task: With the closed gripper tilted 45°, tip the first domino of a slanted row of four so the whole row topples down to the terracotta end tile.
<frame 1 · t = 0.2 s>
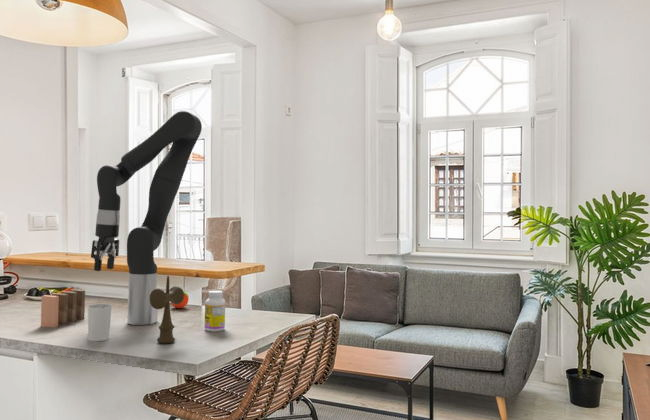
hand: (104, 269, 190), 18 cm above the worktop, tool pointing down, fingers open, 8 cm apart
kendama: (166, 343, 164), on the worktop
supplement bottle: (214, 330, 182), on the worktop
domino 1: (76, 318, 193), on the worktop
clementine: (180, 308, 217), on the worktop
domino 3: (58, 323, 184), on the worktop
drinking glass: (98, 339, 165), on the worktop
domino 2: (67, 321, 188), on the worktop
domino 4: (49, 326, 179), on the worktop
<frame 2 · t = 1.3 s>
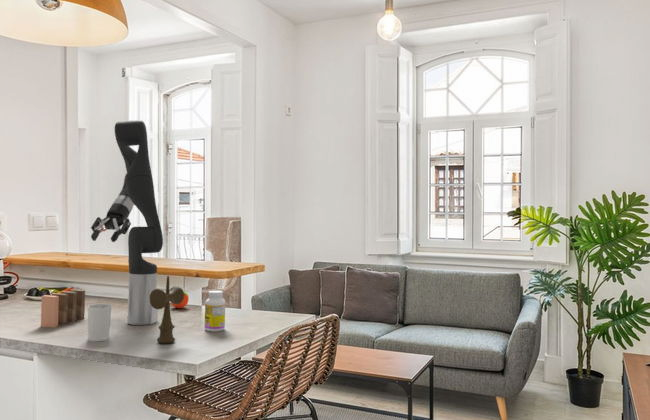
hand: (102, 240, 206), 27 cm above the worktop, tool tilted 45°, fingers open, 7 cm apart
nothing on the worktop moved.
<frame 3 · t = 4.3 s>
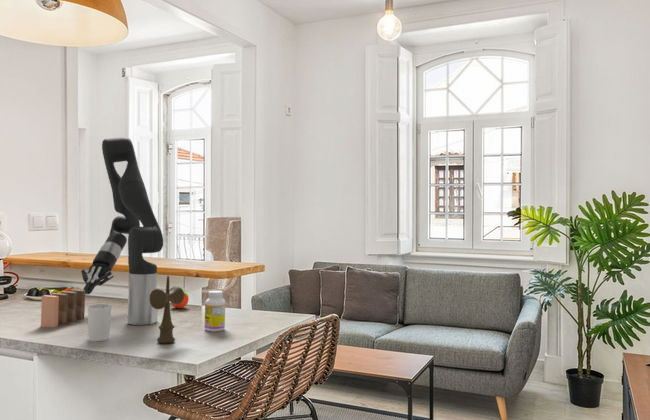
hand: (86, 292, 197), 8 cm above the worktop, tool tilted 45°, fingers closed
nothing on the worktop moved.
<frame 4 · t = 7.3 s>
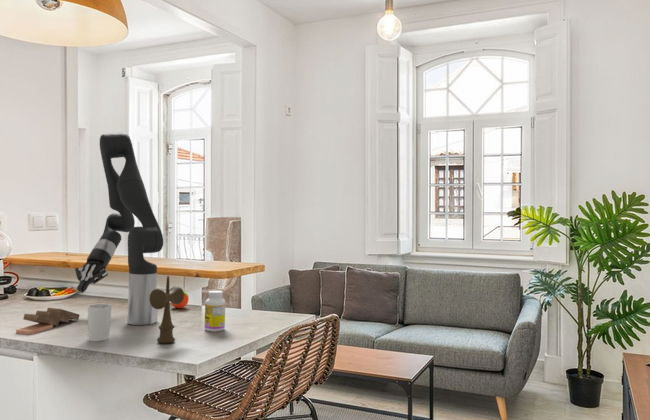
hand: (80, 291, 194), 9 cm above the worktop, tool tilted 45°, fingers closed
domino 1: (73, 316, 190), point 1 cm above the worktop, tilted 69°, touching domino 2
domino 3: (52, 322, 181), point 1 cm above the worktop, tilted 69°, touching domino 2, domino 4
domino 2: (63, 319, 186), point 1 cm above the worktop, tilted 69°, touching domino 1, domino 3
domino 4: (46, 326, 178), on the worktop, tilted 90°, touching domino 3
everything else where it was.
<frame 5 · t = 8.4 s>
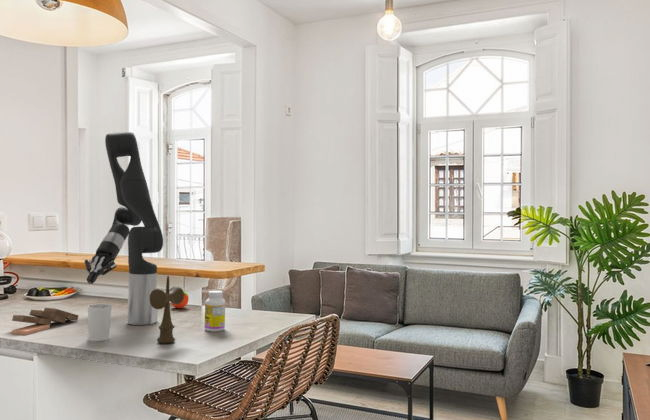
hand: (89, 282, 199), 12 cm above the worktop, tool tilted 45°, fingers closed
domino 1: (72, 317, 189), point 1 cm above the worktop, tilted 68°
domino 3: (46, 321, 180), point 1 cm above the worktop, tilted 74°
domino 2: (60, 319, 185), point 1 cm above the worktop, tilted 67°
domino 4: (43, 327, 177), on the worktop, tilted 90°
everything else where it was.
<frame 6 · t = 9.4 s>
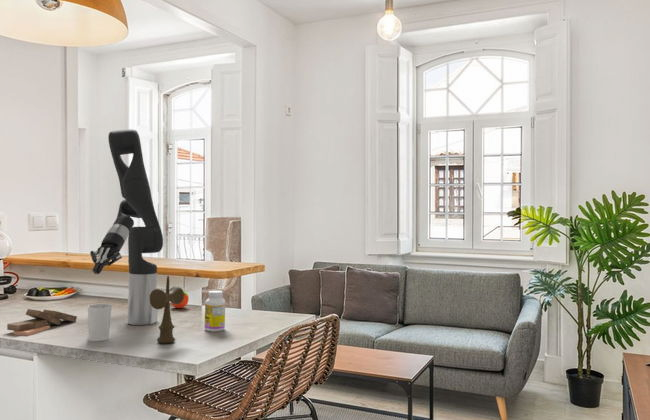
hand: (95, 272, 202), 15 cm above the worktop, tool tilted 45°, fingers closed
domino 1: (70, 318, 189), point 1 cm above the worktop, tilted 70°, touching domino 2
domino 3: (41, 321, 177), point 2 cm above the worktop, tilted 89°, touching domino 2, domino 4
domino 2: (54, 321, 182), point 1 cm above the worktop, tilted 62°, touching domino 1, domino 3
domino 4: (42, 327, 177), on the worktop, tilted 90°, touching domino 3
everything else where it was.
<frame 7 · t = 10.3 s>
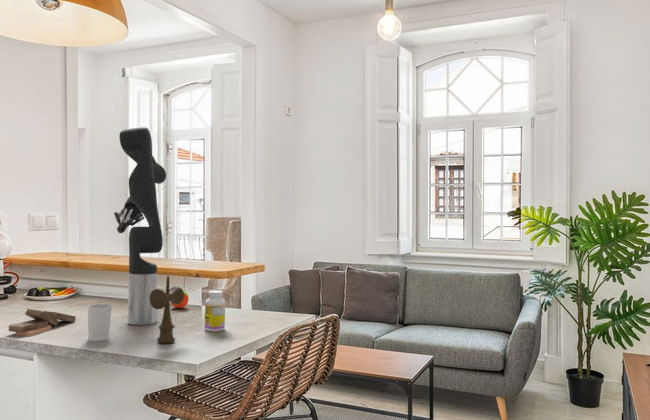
hand: (119, 231, 214), 30 cm above the worktop, tool tilted 45°, fingers closed
domino 3: (41, 322, 175), point 2 cm above the worktop, tilted 89°, touching domino 4
domino 2: (51, 322, 181), point 1 cm above the worktop, tilted 60°, touching domino 1
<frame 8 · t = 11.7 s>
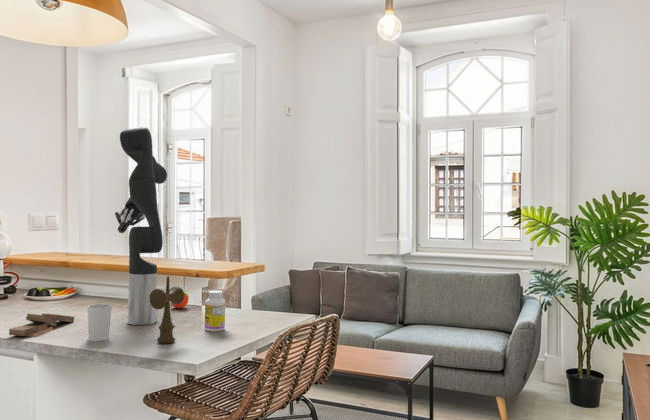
hand: (120, 231, 214), 30 cm above the worktop, tool tilted 45°, fingers closed
domino 3: (40, 325, 173), point 2 cm above the worktop, tilted 90°, touching domino 4
domino 2: (49, 323, 179), point 1 cm above the worktop, tilted 67°, touching domino 1
at the end: domino 1 tilted 75°; domino 4 tilted 90° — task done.
